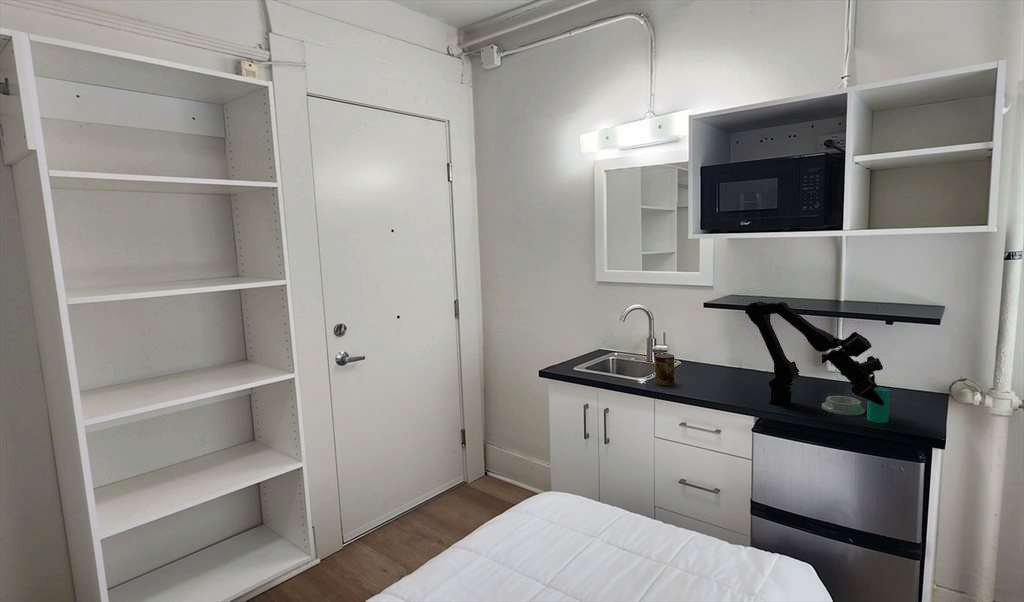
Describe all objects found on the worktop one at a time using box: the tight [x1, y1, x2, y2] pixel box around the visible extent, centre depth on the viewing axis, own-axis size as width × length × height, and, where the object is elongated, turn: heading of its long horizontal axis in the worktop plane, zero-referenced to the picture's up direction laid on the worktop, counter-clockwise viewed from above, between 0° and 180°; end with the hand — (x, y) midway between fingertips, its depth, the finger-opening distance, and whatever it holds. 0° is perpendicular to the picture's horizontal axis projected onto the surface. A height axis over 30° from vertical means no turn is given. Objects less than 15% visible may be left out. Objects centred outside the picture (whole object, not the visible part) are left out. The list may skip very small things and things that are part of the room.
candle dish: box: [821, 395, 866, 417], centre depth 190 cm, size 13×13×4 cm
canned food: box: [654, 353, 675, 386], centre depth 231 cm, size 8×8×12 cm
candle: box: [866, 386, 891, 424], centre depth 179 cm, size 6×6×12 cm
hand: (883, 401), depth 178 cm, fingers open, 9 cm apart
